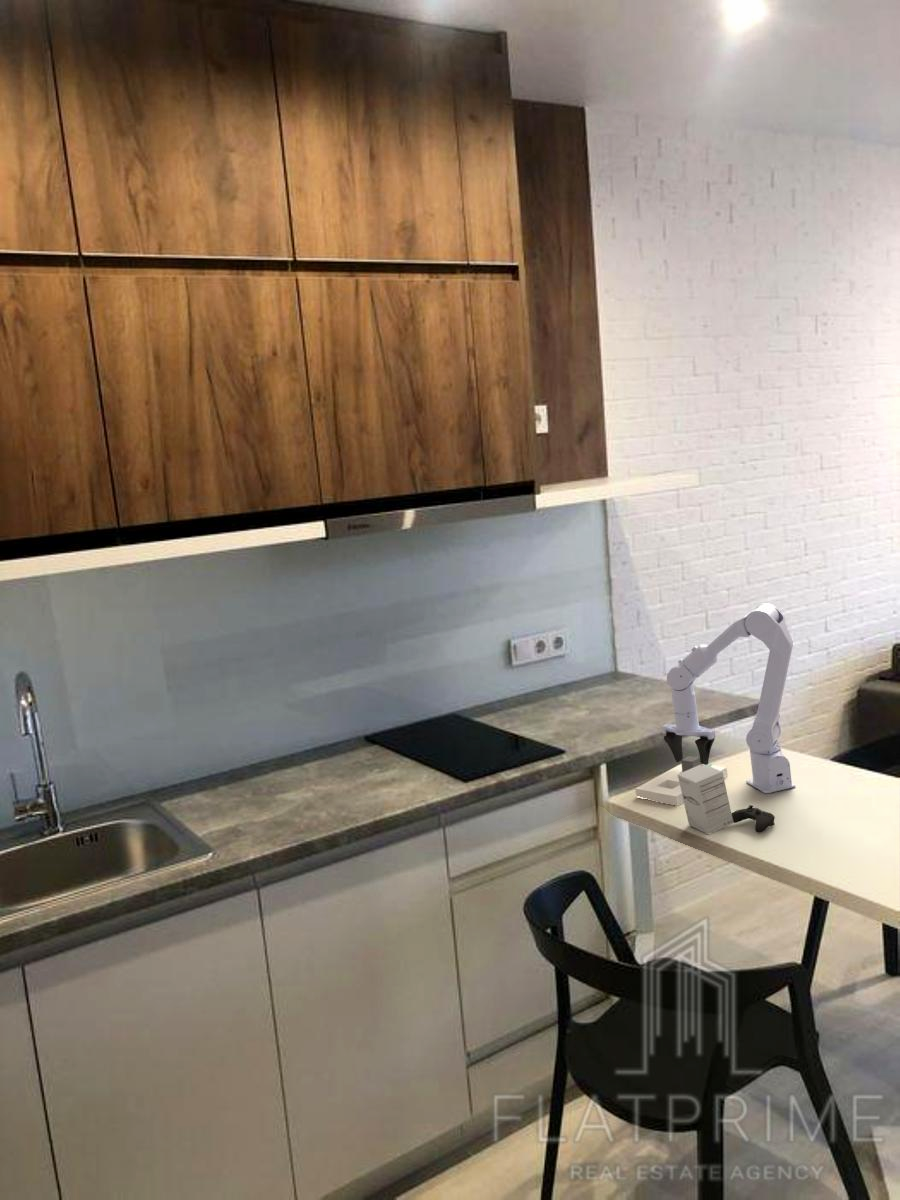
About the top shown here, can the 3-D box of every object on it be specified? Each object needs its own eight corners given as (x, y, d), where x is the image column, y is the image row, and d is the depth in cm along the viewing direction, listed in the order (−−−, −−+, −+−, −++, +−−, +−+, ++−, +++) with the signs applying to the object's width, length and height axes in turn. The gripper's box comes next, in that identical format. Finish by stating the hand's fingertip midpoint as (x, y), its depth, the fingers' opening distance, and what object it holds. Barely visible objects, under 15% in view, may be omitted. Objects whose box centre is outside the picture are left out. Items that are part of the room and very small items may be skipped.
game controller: (725, 818, 206) (739, 796, 208) (739, 831, 208) (752, 808, 210) (757, 831, 198) (771, 807, 199) (771, 844, 200) (785, 820, 201)
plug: (695, 784, 233) (692, 761, 233) (683, 782, 236) (681, 760, 235) (704, 779, 236) (701, 756, 235) (692, 777, 239) (689, 755, 238)
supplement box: (687, 825, 209) (676, 773, 207) (715, 813, 212) (703, 762, 209) (707, 835, 202) (695, 782, 200) (735, 823, 205) (723, 770, 203)
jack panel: (677, 806, 221) (676, 795, 221) (636, 798, 230) (635, 787, 230) (727, 776, 235) (726, 766, 235) (687, 770, 244) (686, 760, 244)
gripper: (652, 712, 236) (658, 763, 238) (701, 718, 226) (707, 771, 227) (668, 705, 241) (674, 755, 243) (717, 710, 230) (723, 762, 232)
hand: (691, 762), depth 235 cm, fingers open, 7 cm apart
